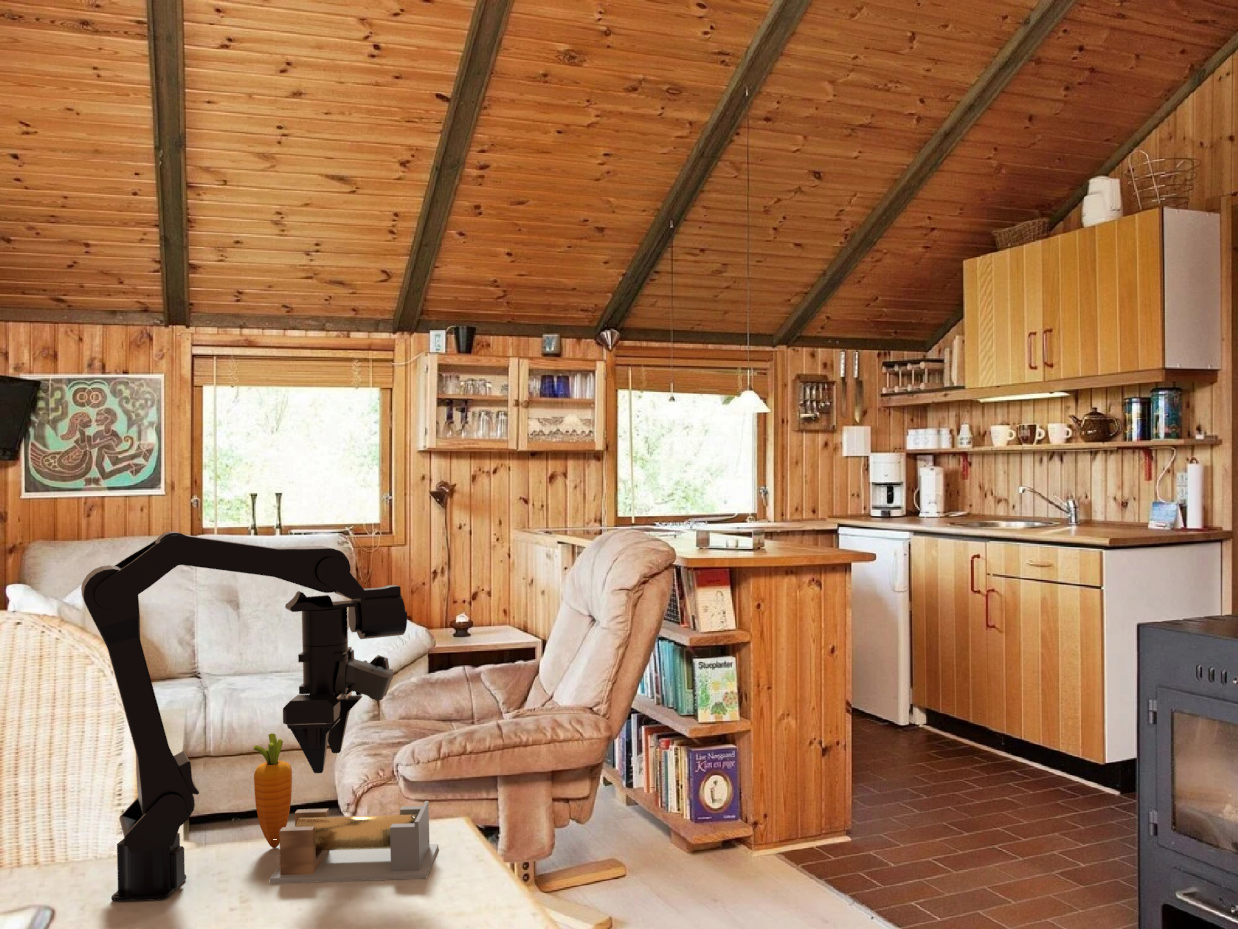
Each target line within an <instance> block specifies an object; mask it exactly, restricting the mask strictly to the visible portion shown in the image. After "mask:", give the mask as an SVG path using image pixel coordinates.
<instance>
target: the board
mask: <svg viewBox="0 0 1238 929" xmlns="http://www.w3.org/2000/svg"><path fill="white" fill-rule="evenodd" d="M429 845H430V847H429V849H428V852H427V854H426V856H425V859H424V861H423V864H422V866H421V868H420V871H391V849H361V850H329V851H328V853H327V854H326V856H325V857H324V859H323V860H322V862H321V863H320V865H319V866H318V868H317V869H316V871H315V872H314V873H313V874H296V875H280V865H279V866H278V867H277V868H276V869H275V871H274V872H273V874H272V875H271V876H270V877H269V884H289V883H291V884H292V883H293V884H294V883H295V884H296V883H319V882H320V883H325V882H326V883H327V882H351V881H352V882H357V881H385V880H386V881H387V880H388V881H389V880H391V881H392V880H413V879H414V880H416V879H417V880H419V879H428V876H429V873H430V872H431V868H432V865H433V863H434V861H435V858H436V856H437V853H438V850H439V843H429Z"/></svg>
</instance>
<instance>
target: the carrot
mask: <svg viewBox="0 0 1238 929" xmlns="http://www.w3.org/2000/svg"><path fill="white" fill-rule="evenodd" d="M267 737H268V741H269V743H268V746H267V747H268V748H266V750H265V748H264V747H263V746H259V745H257V744H256V745H254V746H253V751H256V752H258V753H260V754H261V755H262V756H263V757H264V760H265V761H264V762H262V763H260V764H258V765H257V767H256V768H255V771H254V774H253V786H254V787H253V788H254V801H255V809H256V813H257V818H258V819H257V820H258V823H259V827H260V829H261V831H262V834H263V837H264V838H265V840H266V841H267V843H268V845H269V846H270V847H271V848H272V849H277V847H279V846H280V835H279V831H280V830H281V829H282V827H287V825H288V822H289V821H288V820H289V817H290V812H291V811H290V810H291V803H292V802H291V801H292V792H293V789H292V788H293V785H292V784H293V783H292V782H293V771H292V770H293V769H292V765H291V764H290V763H289V762H287V761H283V760H279V756H280V753H281V751H282V747H283V745H284V740H283V739H281V738H277V735H276V734H275V733H273V732H270V733H269V734H268V736H267ZM273 839H277V840H273Z"/></svg>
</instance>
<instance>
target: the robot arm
mask: <svg viewBox="0 0 1238 929" xmlns="http://www.w3.org/2000/svg"><path fill="white" fill-rule="evenodd" d="M178 566H189V567H195V568H204V569H210V570H219V571H226V572H227V571H228V572H233V573H242V574H249V575H258V576H265V577H273V578H276V579H278V580H283V581H286V582H289V583H292V584H295V585H298V586H301V587H304V588H306V589H307V588H308V589H310V590H314V591H317V592H320V593H325V595H324V594H323V595H315V596H313V595H312V596H307V595H306V594H305V593H304V592H302V591H299V590H298V591H296V593H295V595H294V596H293V598H292V599H290V600H289V601H288V602H287V603H286V604H285V606H284V607H285V609H286V610H288V611H290V612H292V613H296V612H301V634H302V636H301V640H302V651H301V652H300V653H298V662H297V663H302V679H303V680H302V682H303V683H302V684H300V685H299V686H298V694H297V695H296V696H294V697H293V698H292V699H291V700H290V701H288V702H287V704H286V705H285V706H283V708H282V723H283V724H284V725H287V729H289V730H290V731H291V733H292V735H293V736H294V738H295V740H296V742H297V743H298V745H299V747H300V749H301V750H302V752H303V755H304V756H305V758H306V761H307V762H308V765H309V766H310V767H311V768H310V769H312V772H313V773H314V774H322V773H323V772H324V770H325V764H326V757H327V748H328V746H329V748H330V751H331V753H332V754H340V753H341V752H342V747H343V743H344V739H345V734H346V729H347V725H348V720H349V715H350V713H351V710H352V708H354V706H355V705H356V704H358V703H359V701H360V700H361V699H362V698H363V695H364V696H368V697H369V698H370V699H371V700H375V701H383V699H384V697H385V696H387V694H388V691H389V688H390V685H391V682H392V680H393V679H394V674H395V672H394V669H392V668H390V664H389V658H388V657H386V656H383V655H379V654H378V655H376V656H375V657H374V658H373V659H372V660H370V662H368V660H359V659H356V658H355V649H353V648H352V647H353V646H349V637H348V633H349V632H348V628H349V629H350V631H351V633H356V635H357V636H358V638H359V639H360V640H368V639H376V638H387V637H396V636H398V637H399V636H404V634H405V633H406V631H407V626H408V611H407V610H406V605H405V601H404V599H403V596H402V592H401V589H402V588H401V586H400V585H396V584H391V585H385V586H380V587H371V588H364V587H362V584H360V582H359V581H358V580H357V579H356V578H355V577H354V575H353V574H352V573H351V563H350V561H349V558H348V557H347V556H346V555H345V553H344V552H342V551H341V550H339V549H336V548H332V547H328V546H325V545H324V546H323V545H303V546H301V545H299V546H285V547H284V546H283V547H281V546H279V547H271V546H265V545H264V546H263V545H256V544H250V543H243V542H237V541H229V540H221V539H217V538H216V539H215V538H210V537H202V536H195V535H187V534H183V533H182V532H181V533H180V532H178V531H167V532H166V531H165V532H164V533H162V534H160V535H159V536H158V537H157V538H156V539H155V540H154V541H151V543H149V544H147V545H146V546H144V547H142V548H141V549H139V550H137V551H136V552H133V553H132V554H130V555H129V556H127V557H126V558H124V559H122V560H121V561H119V562H118V563H116V564H115V565H110V564H109V565H101V566H99V567H97V568H94V569H92V570H91V571H90V572H89V573H88V574H86V576H85V578H84V579H83V581H82V582H81V597H82V599H83V602H84V604H85V606H86V608H87V611H88V612H89V614H90V616H91V618H92V620H93V622H94V625H95V626H96V628H97V630H98V632H99V634H100V637H101V638H102V641H103V642H104V644H105V645H106V648H107V652H108V656H109V659H110V663H111V666H112V670H113V673H114V674H113V675H114V678H115V681H116V684H117V688H118V692H119V695H120V696H119V697H120V700H121V703H122V706H123V711H124V715H125V717H126V718H125V719H126V721H127V724H128V725H127V726H128V729H129V733H130V736H131V740H132V744H133V747H134V750H135V751H134V752H135V770H136V772H135V773H136V774H135V775H136V786H137V787H136V789H137V797H136V798H135V799H134V801H133V802H132V803H131V804H129V806H128V807H127V808H126V809H125V810H124V811H123V812H122V813H121V814H120V816H119V818H118V819H119V822H120V827H121V831H122V835H123V839H121V840H120V841H119V842H117V843H116V855H117V856H116V858H117V860H116V862H117V863H116V864H117V866H116V867H117V890H116V892H114V893H113V895H111V902H116V901H119V902H120V901H121V902H123V901H124V902H125V901H145V900H147V901H148V900H149V901H151V900H165V899H167V898H169V897H170V896H171V895H172V894H173V893H174V892H175V891H176V890H177V889H178V888H179V887H180V886H181V885H182V884H183V882H185V881H186V880H187V874H186V873H185V872H186V871H185V870H186V869H185V847H184V846H183V845H181V837H180V836H181V833H180V832H179V831H180V827H181V826H183V825H184V824H185V823H186V822H187V821H188V820H189V819H190V817H191V816H192V814H193V812H194V810H195V805H196V803H195V797H194V795H196V796H197V795H199V794H200V791H199V790H198V787H197V786H196V784H195V782H194V780H193V774H192V773H193V772H192V764H191V761H190V758H188V756H187V754H186V752H185V750H182V751H180V752H179V753H177V754H175V755H174V754H173V753H172V752H173V751H172V750H171V748H170V746H169V742H168V738H167V734H166V731H165V727H164V723H163V719H162V715H161V711H160V709H159V705H158V704H159V703H158V702H157V697H156V694H155V690H154V685H153V682H152V679H151V675H150V674H151V673H150V672H149V668H148V664H147V660H146V657H145V653H144V649H143V644H142V643H141V641H142V640H141V622H140V621H141V620H140V617H141V616H140V600H139V595H140V594H141V593H142V592H144V591H146V590H147V589H149V588H150V587H151V586H153V585H154V584H155V583H157V582H158V581H159V580H161V579H162V578H163V577H164V576H166V575H167V574H168V573H170V572H171V571H172V570H173V569H175V568H177V567H178ZM329 593H330V594H331V593H334V594H337V595H340V596H341V597H345V598H346V599H349V600H337V601H333V600H332V598H331V596H330V595H329ZM348 626H349V627H348ZM352 692H355V695H353V694H352Z"/></svg>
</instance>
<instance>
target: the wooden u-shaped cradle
mask: <svg viewBox="0 0 1238 929" xmlns="http://www.w3.org/2000/svg"><path fill="white" fill-rule="evenodd" d="M329 810H330V809H329V808H307V809H305V808H304V809H296V811H295V812H294V826H286V827H282V829H281V830H280V831H279V835H280V843H279V866H280V875H296V874H313V873H314V872H315V871H316V869H317V868H318V866H319V865H320V863H321V862H322V860H323V859H324V857H325V856H326V854H327V853H328V851H316V848H315V826H309V827H296V824H297V821H298V819H299V818H317V817H330V813H329Z"/></svg>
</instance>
